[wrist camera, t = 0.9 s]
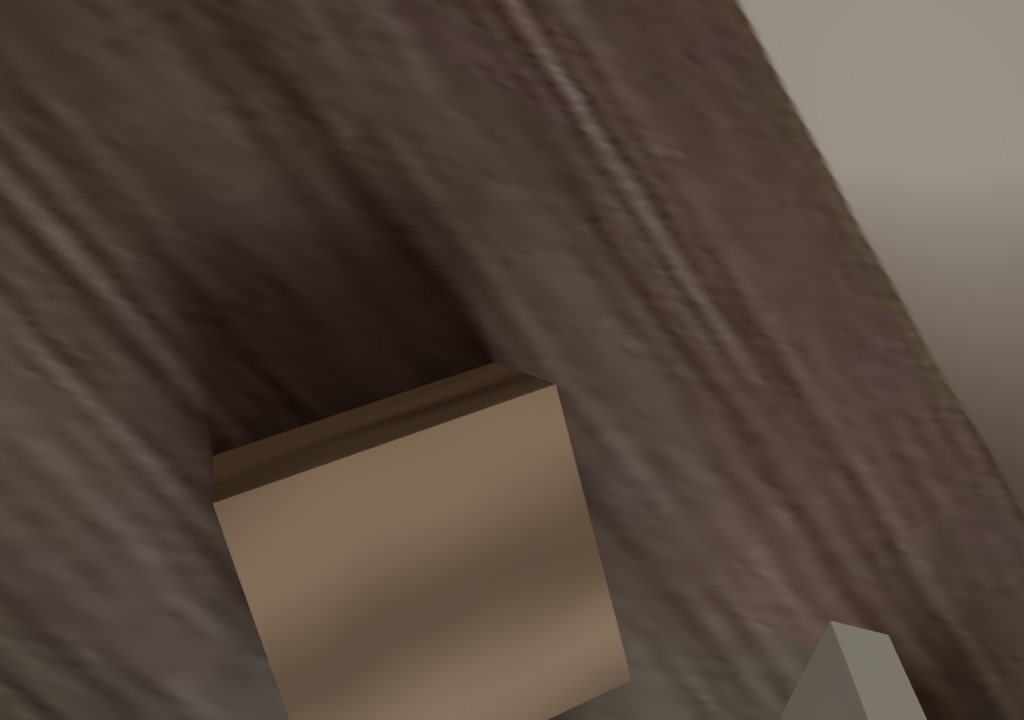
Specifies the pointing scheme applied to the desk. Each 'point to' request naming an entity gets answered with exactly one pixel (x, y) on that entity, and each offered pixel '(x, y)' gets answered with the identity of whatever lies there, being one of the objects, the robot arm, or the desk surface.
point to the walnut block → (424, 557)
